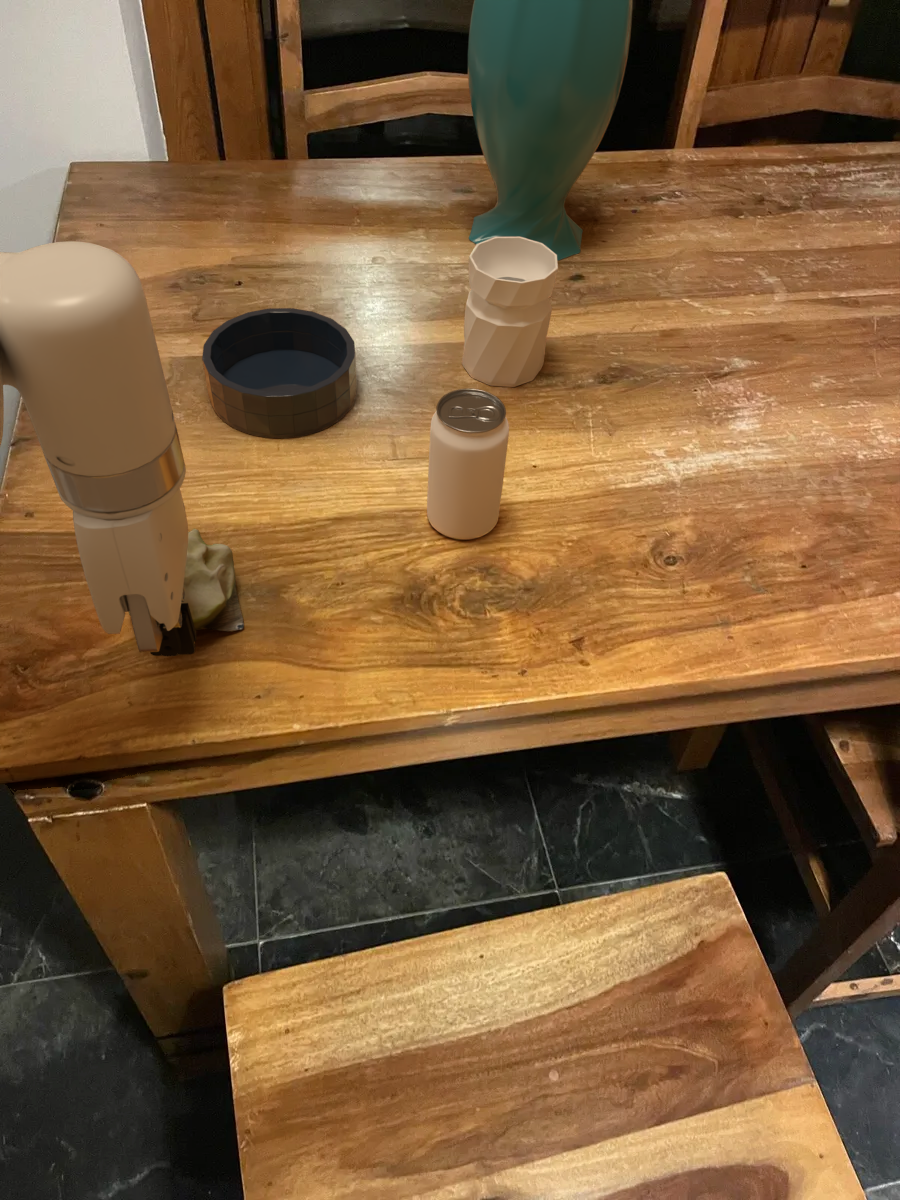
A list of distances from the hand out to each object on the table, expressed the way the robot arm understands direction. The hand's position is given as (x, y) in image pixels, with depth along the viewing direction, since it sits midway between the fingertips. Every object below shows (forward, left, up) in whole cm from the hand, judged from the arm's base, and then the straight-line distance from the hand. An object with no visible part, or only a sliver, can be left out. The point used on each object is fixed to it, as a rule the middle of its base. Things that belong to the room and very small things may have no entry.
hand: (174, 646), depth 69 cm
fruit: (0, +6, -3) cm, 7 cm away
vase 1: (+38, +65, -3) cm, 75 cm away
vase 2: (+31, +38, -3) cm, 49 cm away
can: (+24, +15, -3) cm, 28 cm away
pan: (+8, +34, -3) cm, 35 cm away
